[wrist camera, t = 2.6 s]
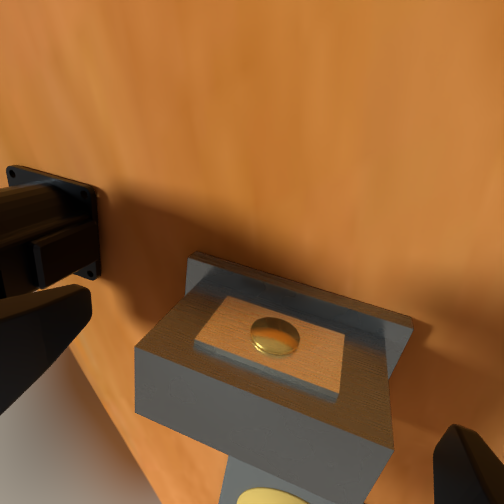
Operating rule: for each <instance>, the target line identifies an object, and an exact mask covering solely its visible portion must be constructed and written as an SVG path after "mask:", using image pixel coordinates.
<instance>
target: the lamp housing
mask: <svg viewBox="0 0 504 504" xmlns="http://www.w3.org/2000/svg"><path fill="white" fill-rule="evenodd" d="M413 330H414V328H413V324H412V319H411V317H408V316H405V315H402V314H399V313H395V312H392V311H389V310H386V309H382V308H379V307H376V306H373V305H369V304H366V303H363V302H360V301H357V300H353V299H350V298H347V297H344V296H340V295H337V294H334V293H331V292H327V291H324V290H321V289H318V288H314V287H311V286H308V285H305V284H301V283H298V282H295V281H292V280H289V279H285V278H282V277H279V276H276V275H272V274H269V273H266V272H263V271H259V270H256V269H253V268H250V267H246V266H243V265H240V264H237V263H233V262H230V261H227V260H224V259H221V258H217V257H214V256H211V255H208V254H204V253H201V252H198V251H196V252H194V253H193V254H192V255H191V256H189V257H188V262H187V275H186V287H185V296H184V297H183V298H182V299H181V300H180V301H179V302H178V303H177V304H176V305H175V306H174V307H173V308H172V309H171V310H170V311H169V312H168V313H167V314H166V315H165V316H164V317H163V318H162V319H161V320H160V321H159V322H158V323H157V324H156V325H155V326H154V328H153V329H152V330H151V331H150V332H149V333H148V334H147V335H146V336H145V337H144V338H143V339H142V340H141V341H140V342H139V343H138V344H137V345H136V346H135V413H137V414H139V415H141V416H144V417H146V418H148V419H150V420H152V421H155V422H157V423H159V424H161V425H163V426H166V427H168V428H170V429H172V430H174V431H177V432H179V433H181V434H183V435H185V436H188V437H190V438H192V439H194V440H197V441H199V442H201V443H203V444H205V445H208V446H210V447H212V448H214V449H216V450H219V451H221V452H223V453H225V454H227V455H230V456H232V457H234V458H236V459H238V460H241V461H243V462H245V463H247V464H249V465H252V466H254V467H256V468H258V469H260V470H263V471H265V472H267V473H269V474H272V475H274V476H276V477H278V478H280V479H283V480H285V481H287V482H289V483H291V484H294V485H296V486H298V487H300V488H302V489H305V490H307V491H309V492H311V493H313V494H316V495H318V496H320V497H322V498H324V499H327V500H329V501H331V502H333V503H335V504H363V502H364V501H365V499H366V497H367V496H368V494H369V492H370V491H371V489H372V487H373V485H374V484H375V482H376V480H377V479H378V477H379V475H380V474H381V472H382V470H383V469H384V467H385V465H386V464H387V462H388V460H389V459H390V457H391V455H392V454H393V452H394V442H393V430H392V418H391V406H390V394H389V382H388V380H389V378H390V376H391V374H392V372H393V370H394V368H395V366H396V364H397V362H398V360H399V358H400V356H401V354H402V352H403V350H404V348H405V346H406V344H407V342H408V340H409V338H410V336H411V334H412V332H413Z"/></svg>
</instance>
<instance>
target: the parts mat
mask: <svg viewBox="0 0 504 504" xmlns="http://www.w3.org/2000/svg"><path fill="white" fill-rule="evenodd" d="M218 504H335V503H333V502H331V501H329V500H327V499H324V498H322V497H320V496H318V495H316V494H313V493H311V492H309V491H307V490H305V489H302V488H300V487H298V486H296V485H294V484H291V483H289V482H287V481H285V480H283V479H280V478H278V477H276V476H274V475H272V474H269V473H267V472H265V471H263V470H260V469H258V468H256V467H254V466H252V465H249V464H247V463H245V462H243V461H241V460H238V459H236V458H234V457H232V456H230V455H229V456H228V461H227V466H226V471H225V475H224V480H223V485H222V489H221V494H220V499H219V503H218ZM363 504H364V503H363Z"/></svg>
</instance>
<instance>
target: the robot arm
mask: <svg viewBox="0 0 504 504" xmlns="http://www.w3.org/2000/svg"><path fill="white" fill-rule="evenodd" d="M6 173H7V179H8V184H9V187H5V188H0V415H1V414H2V413H3V412H4V411H6V409H8V408H9V407H10V406H11V405H12V404H13V403H14V402H15V401H16V400H17V399H18V398H19V397H20V396H21V395H22V394H23V393H24V392H25V391H26V390H27V389H28V388H29V387H30V386H31V385H32V384H33V383H34V382H35V381H36V380H37V379H38V378H39V377H40V376H41V375H42V374H43V373H44V372H45V371H46V370H47V369H48V368H49V367H50V366H51V365H52V364H53V363H54V361H56V359H57V358H58V357H59V356H60V355H61V353H63V351H64V350H65V349H66V348H67V347H68V346H69V344H70V343H71V342H72V341H73V340H74V339H75V337H76V336H77V335H78V334H79V333H80V332H81V330H82V329H83V328H84V327H85V326H86V325H87V324H88V322H89V321H90V319H91V317H92V303H91V292H90V290H89V289H88V288H86V287H83V286H80V285H77V284H71V285H66V286H62V287H57V288H52V289H47V290H43V291H38V292H34V291H36V290H38V289H46V288H47V287H49V286H51V285H53V284H55V283H57V282H58V281H60V280H62V279H64V278H66V277H68V276H69V275H71V274H75V275H78V276H81V277H83V278H86V279H89V280H96V279H97V278H99V277H100V276H101V267H100V251H99V235H98V219H97V202H96V193H95V191H94V189H93V188H92V187H91V186H89V185H86V184H83V183H79V182H75V181H72V180H68V179H65V178H61V177H58V176H54V175H51V174H47V173H43V172H40V171H36V170H33V169H29V168H26V167H22V166H19V165H12V166H8V167H7V168H6ZM86 193H87V195H88V196H87V195H86ZM32 292H33V293H32ZM433 474H434V504H504V465H503V464H502V462H501V461H500V460H499V459H498V457H497V456H496V455H495V454H494V453H493V451H492V450H491V449H490V448H489V446H488V445H487V444H486V443H485V442H484V440H483V439H482V438H481V437H480V435H479V434H478V433H476V432H475V431H473V430H471V429H468V428H465V427H463V426H460V425H457V424H453V425H451V426H450V427H449V428H448V429H447V431H446V432H445V434H444V435H443V437H442V438H441V440H440V441H439V442H438V444H437V445H436V447H435V450H434V454H433Z"/></svg>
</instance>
